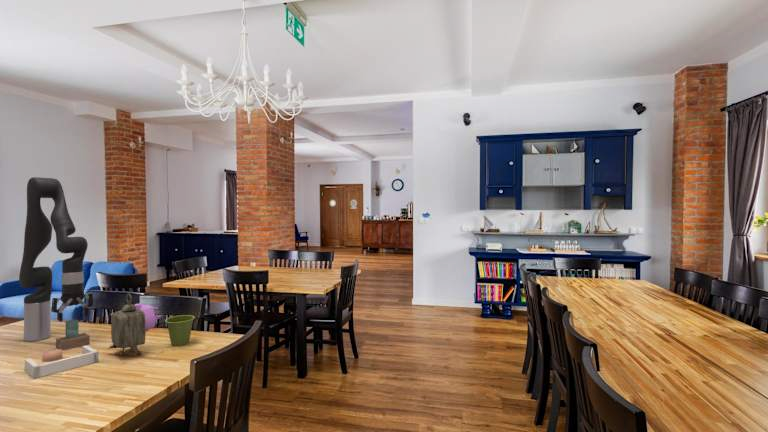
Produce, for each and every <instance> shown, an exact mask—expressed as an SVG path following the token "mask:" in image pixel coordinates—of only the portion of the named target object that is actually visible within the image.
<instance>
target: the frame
mask: <svg viewBox="0 0 768 432" xmlns="http://www.w3.org/2000/svg"><path fill="white" fill-rule="evenodd" d="M81 347H82V348H81V349H82V350H81V353H82V354H78V355H75V356H71V357H66V358H63V359H62V358H61V359H59V360H56V361H51V362H44V363H41V364H38V363H37V362H36V361H35V360H33V359H31V357H30V358H26V359H24V371H25V372H26V373H28V375H30V376H31V378H33V379H38V378H42V377H45V376H49V375H53V374H57V373H62V372H65V371H68V370H73V369H76V368H80V367H83V366H87V365H91V364H95V363H99V361H100V360H99V355H100V353H99V351H98V350H96V349H95V348H92V347H91V346H89V345H85V346H81Z"/></svg>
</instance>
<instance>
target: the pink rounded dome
mask: <svg viewBox="0 0 768 432" xmlns="http://www.w3.org/2000/svg"><path fill="white" fill-rule="evenodd" d="M41 356H42V359H41V360H42V362H43V363H49V362H53V361H57V360H61V359H62V358H63V351H62V350H61V349H57V348H55V349H51V350H50V349H49V350H47V351H43V352H42V355H41Z"/></svg>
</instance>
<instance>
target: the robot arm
mask: <svg viewBox="0 0 768 432" xmlns="http://www.w3.org/2000/svg"><path fill="white" fill-rule="evenodd" d="M27 181H28V182H27V184H26V218H25V219H26V220H25V226H24V227H25V228H24V237H23V239H24V241H23V253H22V259H21V265H20V270H19V274H18V275H19V276H18V283H19V285H20V286H19V287H21V288H22V289H31V288H32V289H34V288H37V289H36V291H34V292H32V293H30V294H27V295H26V296H24V298H23V341H24V342H35V341H41V340H42V341H43V340H46V339H48V338H50V337H51V333H52V332H51V331H52V330H51V329H52V328H51V327H52V326H51V324H52V323H51V316H52V315H51V314H52V313H56V319H57V321H58V322H59V323H60V322H61V323H62V322H63V320H64V319H63V316H64V314H63V311H64V310H65V309H66V308H67V307H72V306H79V305H80V306H81V307H83V308H82V317H83V318H87V317H88V315H89V309H90V308H91V307H94V296H93V293H92V292H88V293H85V292H84V289H85V288H84V287H85V286H84V284H85V278H84V277H85V276H84V268H83V266H84V259H85V256H86V253H87V250H88V246H89V244H88V241H87V239H86V238H85V237H83V236H71V235H73V234H75V232H76V227H75V225H74V222H73V220H72V218H71V215H70V213H69V211H68V206H67V201H66V198H65V197H66V196H65V194H64V193H65V192H64V188H63V185H62V183H61V182H60V180H58V179H57V178H52V177H50V178H49V177H37V176H35V177H31V178H29V180H27ZM41 199H52V201H53V203H54V207H53V209H52V212H51V214H50V219H49V218H48V217H47V216H46V215H45V213H44V211H43V210H42V206H41ZM53 230H54V232H55V239H56V240H55V245H56V249H57V251H58V252H59V253H61V254H72V256H71V257H68V258H65V259H63V260H62V262H61V263H62V264H61V266H62V269H61V271H62V272H61V273H62V274H61V297H52V290H53V287H52V285H53V270H52V269H51V267H49V266H35V264H36V263H35V262H36V260H37V258H38V257H39V256H40V254H41V253H42V252H43V251H44V250H45V249H46V248H47V246H49V244H50V243H51V241H52V235H53ZM34 266H35V267H34ZM51 297H52V299H51ZM84 298H86V299H87V304H86V303H85V302H84ZM60 301H61V302H62V303H61V304H60V306H59V307H58V303H60ZM51 312H52V313H51Z"/></svg>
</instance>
